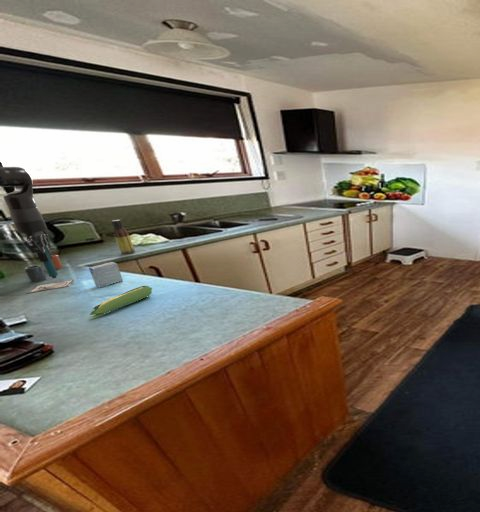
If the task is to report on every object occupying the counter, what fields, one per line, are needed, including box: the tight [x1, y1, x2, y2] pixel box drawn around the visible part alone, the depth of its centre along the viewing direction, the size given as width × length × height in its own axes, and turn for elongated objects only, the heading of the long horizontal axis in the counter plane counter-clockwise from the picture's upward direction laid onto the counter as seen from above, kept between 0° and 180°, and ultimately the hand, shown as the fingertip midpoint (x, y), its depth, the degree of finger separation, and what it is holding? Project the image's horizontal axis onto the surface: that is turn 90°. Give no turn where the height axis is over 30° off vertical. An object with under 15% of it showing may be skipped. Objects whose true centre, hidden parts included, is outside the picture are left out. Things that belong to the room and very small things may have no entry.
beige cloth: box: [25, 279, 76, 295], centre depth 116 cm, size 12×9×1 cm
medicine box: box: [88, 261, 124, 288], centre depth 118 cm, size 8×4×9 cm, turn 154°
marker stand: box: [23, 264, 47, 284], centre depth 122 cm, size 5×5×7 cm
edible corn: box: [88, 285, 153, 320], centre depth 99 cm, size 5×20×5 cm, turn 162°
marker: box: [42, 248, 58, 279], centre depth 114 cm, size 2×2×13 cm
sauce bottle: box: [111, 219, 136, 255], centre depth 158 cm, size 7×6×20 cm
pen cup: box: [51, 254, 64, 270], centre depth 136 cm, size 5×5×7 cm
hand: (46, 260), depth 113 cm, fingers closed on marker, 2 cm apart
